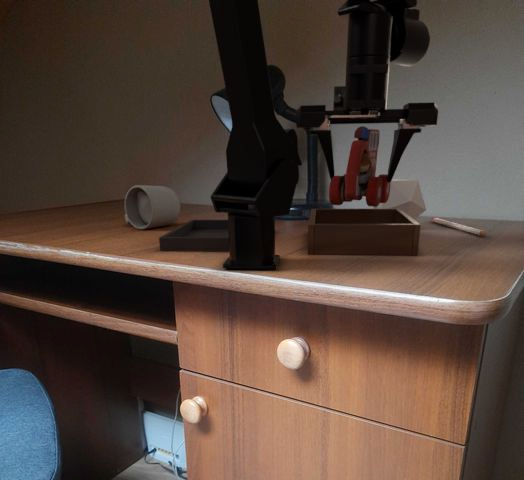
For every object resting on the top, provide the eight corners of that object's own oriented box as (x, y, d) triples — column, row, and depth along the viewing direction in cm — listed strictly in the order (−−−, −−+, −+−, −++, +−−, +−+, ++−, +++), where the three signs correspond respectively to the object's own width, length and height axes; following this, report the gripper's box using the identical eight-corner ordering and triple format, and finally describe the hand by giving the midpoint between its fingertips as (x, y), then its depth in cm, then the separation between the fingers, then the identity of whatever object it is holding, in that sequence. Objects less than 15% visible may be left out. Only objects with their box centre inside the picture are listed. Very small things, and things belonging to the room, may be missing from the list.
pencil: (434, 221, 94) (435, 217, 94) (489, 236, 77) (490, 232, 77) (430, 221, 94) (431, 217, 94) (484, 236, 77) (485, 232, 77)
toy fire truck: (323, 207, 69) (326, 126, 65) (348, 199, 79) (352, 129, 75) (372, 209, 66) (378, 124, 62) (392, 201, 77) (398, 127, 73)
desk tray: (250, 251, 70) (250, 237, 69) (159, 250, 71) (158, 237, 70) (265, 230, 87) (265, 219, 87) (192, 230, 89) (191, 219, 88)
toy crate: (417, 255, 66) (420, 224, 64) (307, 254, 67) (308, 224, 66) (398, 233, 83) (400, 208, 81) (310, 232, 84) (311, 208, 83)
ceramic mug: (185, 225, 95) (182, 183, 92) (154, 230, 88) (149, 185, 85) (146, 222, 100) (142, 182, 97) (114, 227, 94) (109, 185, 91)
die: (376, 225, 96) (358, 184, 89) (419, 201, 94) (404, 157, 87) (391, 248, 89) (374, 206, 83) (438, 223, 87) (423, 177, 81)
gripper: (428, 66, 72) (417, 178, 78) (300, 70, 74) (299, 179, 80) (445, 52, 62) (431, 183, 68) (297, 57, 64) (295, 184, 70)
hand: (360, 182), depth 72 cm, fingers closed on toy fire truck, 8 cm apart
